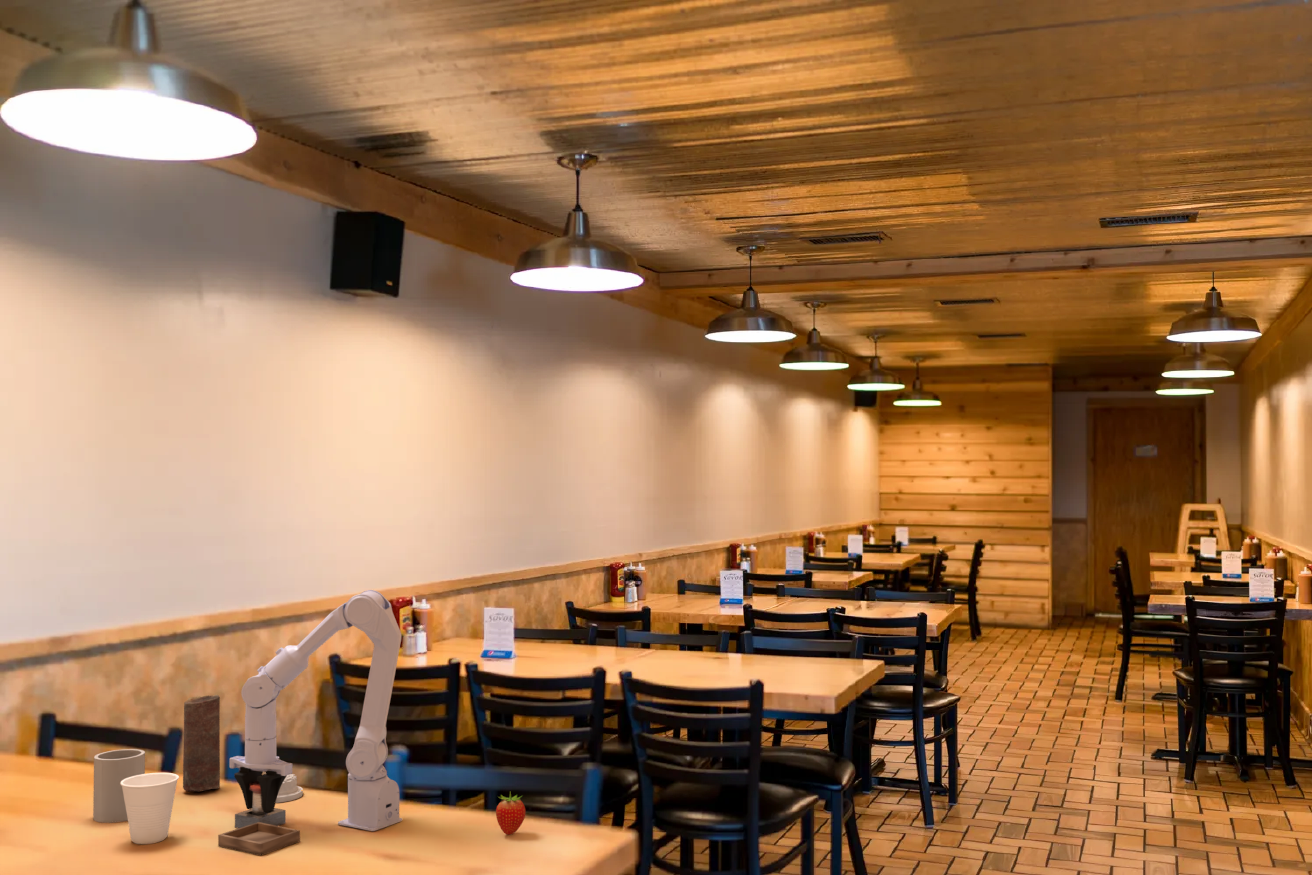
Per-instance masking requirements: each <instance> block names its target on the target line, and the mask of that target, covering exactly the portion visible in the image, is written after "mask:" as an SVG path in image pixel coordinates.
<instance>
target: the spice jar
mask: <svg viewBox="0 0 1312 875" xmlns="http://www.w3.org/2000/svg"><path fill="white" fill-rule="evenodd" d="M249 790H251V791H252V815H256V816H261V815H264V814H268V813H269V811H268V812H264V811H263V806H262V792H261V787H260V784H259V781H254V782H251V783H250V784H249Z"/></svg>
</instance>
